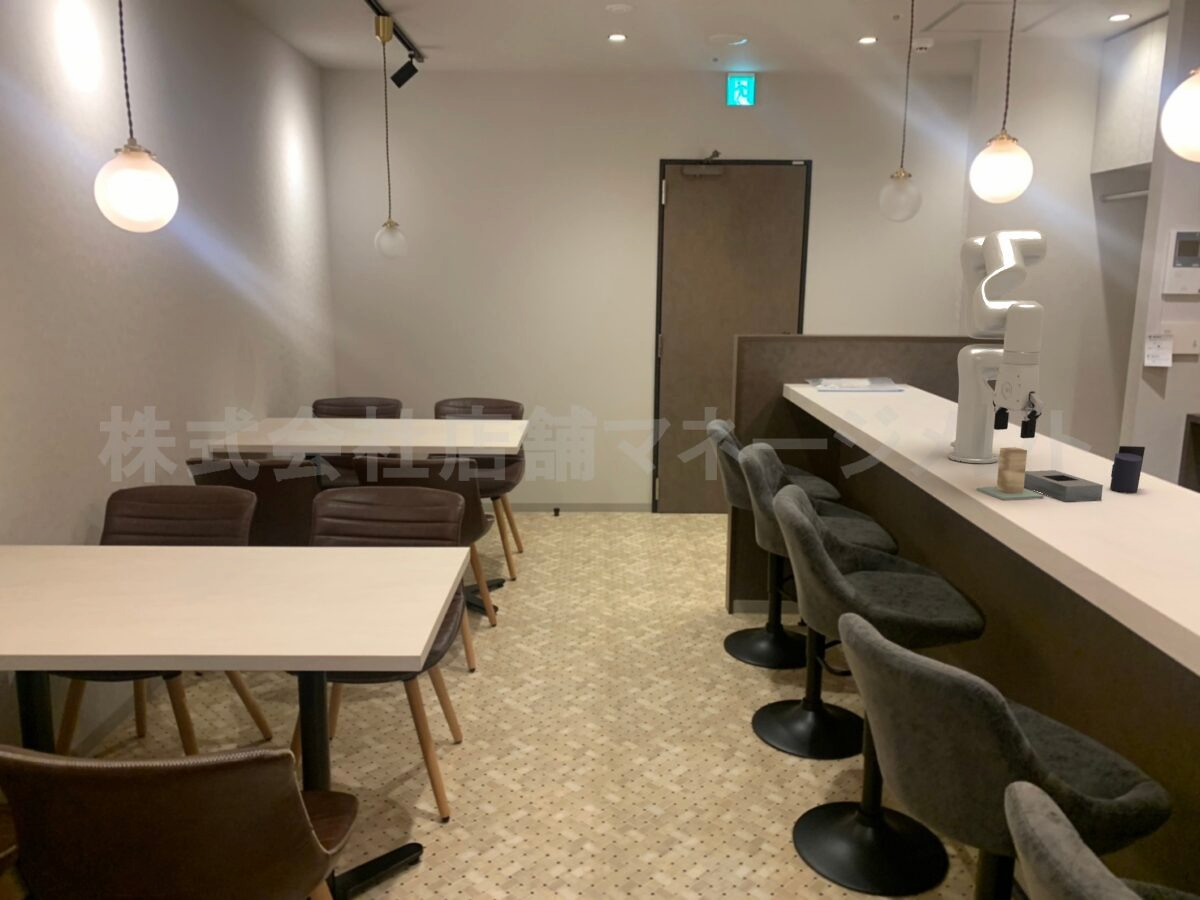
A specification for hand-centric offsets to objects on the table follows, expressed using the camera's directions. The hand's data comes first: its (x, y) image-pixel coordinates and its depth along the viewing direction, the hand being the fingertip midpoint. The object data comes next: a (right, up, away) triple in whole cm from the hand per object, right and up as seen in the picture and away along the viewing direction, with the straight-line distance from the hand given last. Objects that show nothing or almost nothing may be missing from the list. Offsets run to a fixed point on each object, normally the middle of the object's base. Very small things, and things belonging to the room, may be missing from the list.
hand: (1013, 433), depth 199 cm
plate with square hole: (+12, -14, +3) cm, 18 cm away
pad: (0, -14, +2) cm, 14 cm away
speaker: (+29, -14, +5) cm, 32 cm away
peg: (0, -13, +2) cm, 14 cm away
